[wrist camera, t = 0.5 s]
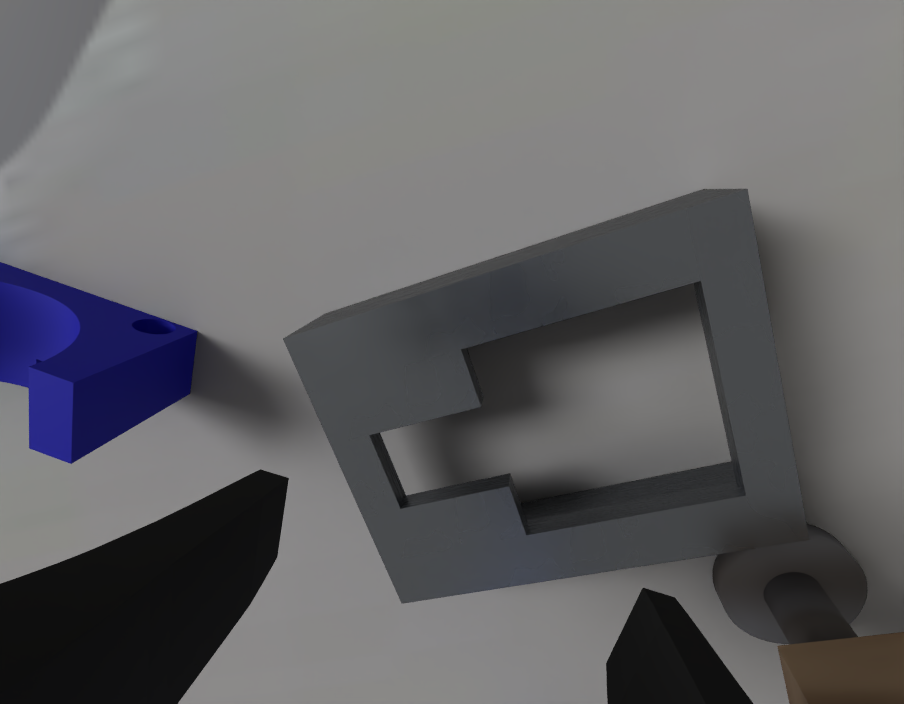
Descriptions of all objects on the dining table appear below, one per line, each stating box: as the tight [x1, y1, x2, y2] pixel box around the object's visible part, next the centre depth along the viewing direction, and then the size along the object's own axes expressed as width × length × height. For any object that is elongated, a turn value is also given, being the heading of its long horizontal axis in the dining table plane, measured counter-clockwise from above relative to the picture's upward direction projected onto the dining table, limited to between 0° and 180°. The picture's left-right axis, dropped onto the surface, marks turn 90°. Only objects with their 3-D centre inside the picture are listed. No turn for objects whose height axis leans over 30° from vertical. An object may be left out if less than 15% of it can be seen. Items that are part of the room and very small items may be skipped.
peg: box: [713, 524, 904, 704], centre depth 16 cm, size 5×5×8 cm
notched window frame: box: [283, 189, 809, 603], centre depth 17 cm, size 11×14×3 cm
